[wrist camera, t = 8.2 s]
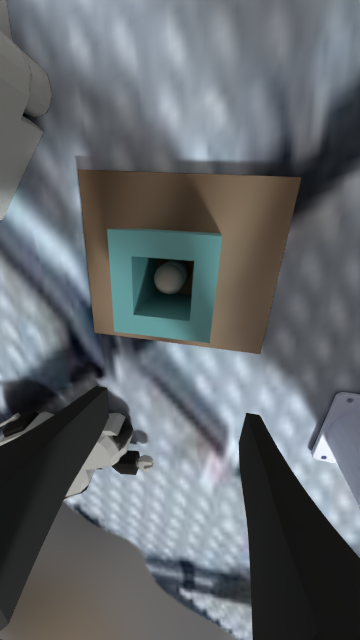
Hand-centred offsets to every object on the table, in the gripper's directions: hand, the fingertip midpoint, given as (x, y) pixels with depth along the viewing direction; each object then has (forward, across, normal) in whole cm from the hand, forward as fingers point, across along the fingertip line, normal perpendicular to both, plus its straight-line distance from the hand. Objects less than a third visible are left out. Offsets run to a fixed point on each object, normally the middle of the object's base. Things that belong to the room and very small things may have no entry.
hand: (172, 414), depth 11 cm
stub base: (+9, +2, -6) cm, 11 cm away
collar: (+8, +2, -6) cm, 10 cm away
